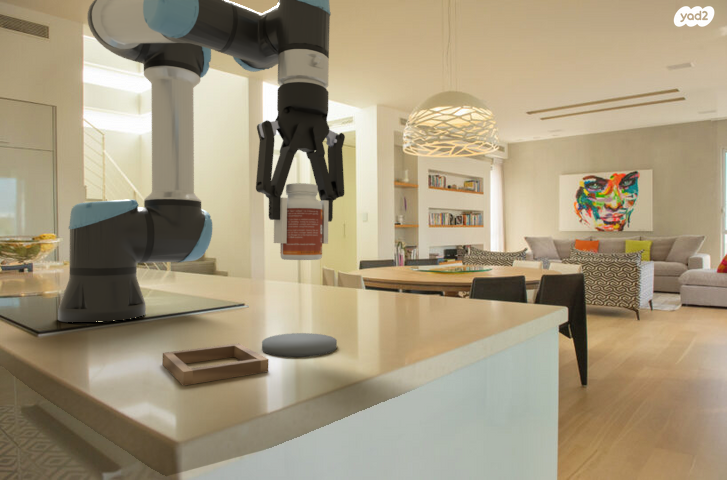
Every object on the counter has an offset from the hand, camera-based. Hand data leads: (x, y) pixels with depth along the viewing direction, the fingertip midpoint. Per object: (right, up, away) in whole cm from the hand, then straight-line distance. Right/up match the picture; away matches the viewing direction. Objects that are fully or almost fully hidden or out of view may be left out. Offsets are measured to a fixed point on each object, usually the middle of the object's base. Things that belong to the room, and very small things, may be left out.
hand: (301, 243), depth 69 cm
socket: (-9, -16, -11) cm, 21 cm away
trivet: (0, -16, 0) cm, 16 cm away
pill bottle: (0, -3, 0) cm, 3 cm away
